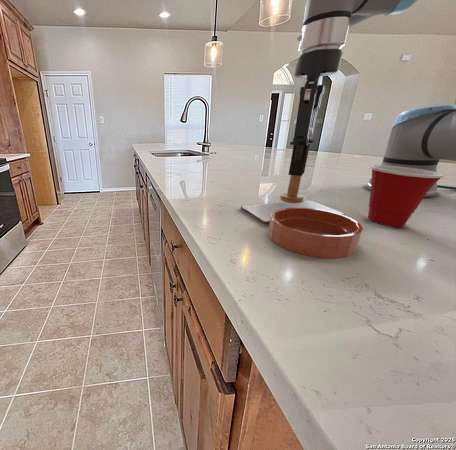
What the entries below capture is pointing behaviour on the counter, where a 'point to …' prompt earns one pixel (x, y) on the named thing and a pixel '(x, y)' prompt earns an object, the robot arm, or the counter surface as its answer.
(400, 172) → the plastic cup
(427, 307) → the counter surface
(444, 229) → the counter surface
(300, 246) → the bowl
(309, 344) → the counter surface
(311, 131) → the stirrer
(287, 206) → the board
